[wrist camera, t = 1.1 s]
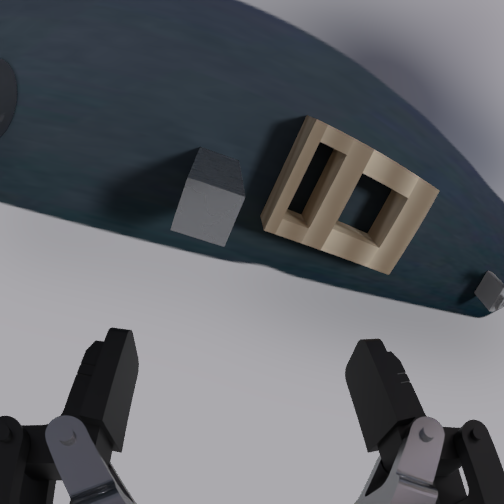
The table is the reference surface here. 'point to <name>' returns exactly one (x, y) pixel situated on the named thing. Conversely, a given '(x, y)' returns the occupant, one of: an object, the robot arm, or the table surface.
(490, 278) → the lighter
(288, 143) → the table surface
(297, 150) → the holder
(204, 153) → the grey rectangular block
